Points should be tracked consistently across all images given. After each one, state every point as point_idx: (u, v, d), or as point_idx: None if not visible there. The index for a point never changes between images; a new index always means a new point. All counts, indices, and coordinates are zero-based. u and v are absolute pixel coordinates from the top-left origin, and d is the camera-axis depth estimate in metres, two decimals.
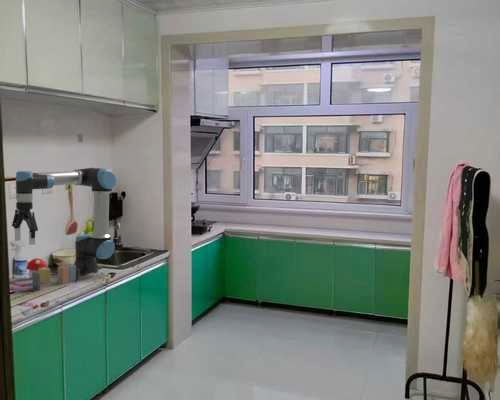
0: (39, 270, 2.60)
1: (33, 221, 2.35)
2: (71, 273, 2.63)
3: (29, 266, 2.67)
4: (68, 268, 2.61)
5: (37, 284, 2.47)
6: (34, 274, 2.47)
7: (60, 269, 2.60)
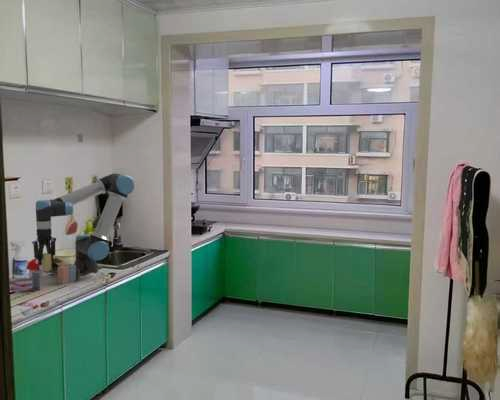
0: None
1: (35, 250, 2.55)
2: (71, 273, 2.63)
3: (29, 266, 2.67)
4: (68, 268, 2.61)
5: (37, 284, 2.47)
6: (34, 274, 2.47)
7: (60, 269, 2.60)
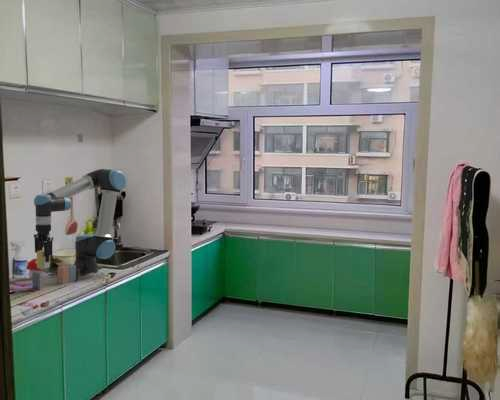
0: (43, 253, 2.48)
1: (50, 246, 2.46)
2: (71, 273, 2.63)
3: (29, 266, 2.67)
4: (68, 268, 2.61)
5: (37, 284, 2.47)
6: (34, 274, 2.47)
7: (60, 269, 2.60)
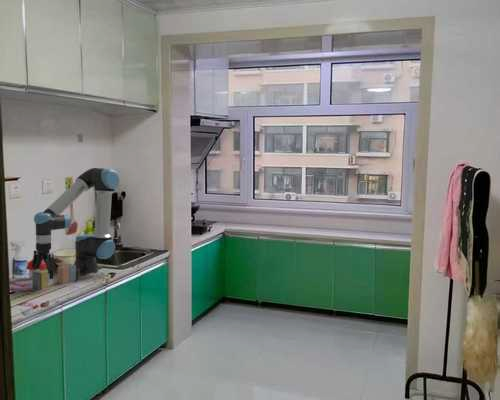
0: (43, 274, 2.49)
1: (52, 263, 2.47)
2: (71, 273, 2.63)
3: (29, 266, 2.67)
4: (68, 268, 2.61)
5: (37, 284, 2.47)
6: (34, 274, 2.47)
7: (60, 269, 2.60)
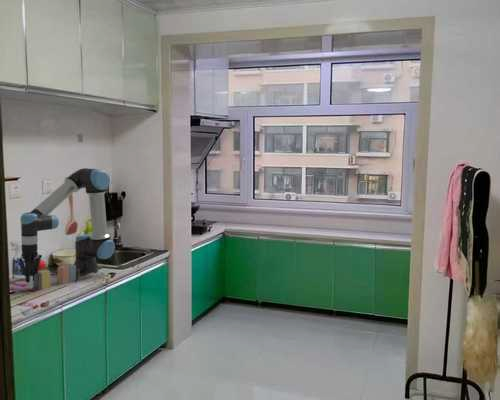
0: (43, 274, 2.49)
1: (21, 267, 2.40)
2: (71, 273, 2.63)
3: None
4: (68, 268, 2.61)
5: (38, 284, 2.47)
6: (35, 274, 2.47)
7: (60, 269, 2.60)
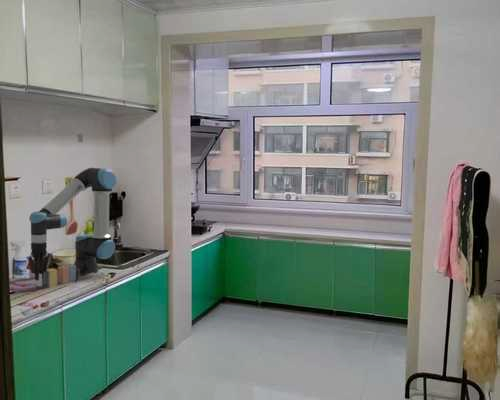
0: (50, 272, 2.52)
1: (30, 265, 2.44)
2: (71, 273, 2.63)
3: (29, 266, 2.67)
4: (68, 268, 2.61)
5: (47, 282, 2.51)
6: (44, 272, 2.52)
7: (60, 269, 2.60)
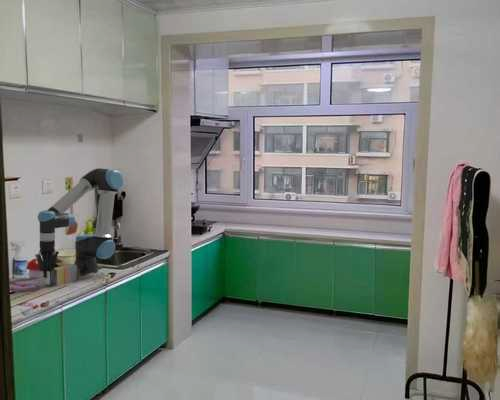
0: (58, 271, 2.56)
1: (39, 263, 2.48)
2: (72, 273, 2.64)
3: (29, 266, 2.67)
4: (70, 268, 2.62)
5: (54, 280, 2.55)
6: (52, 270, 2.56)
7: None
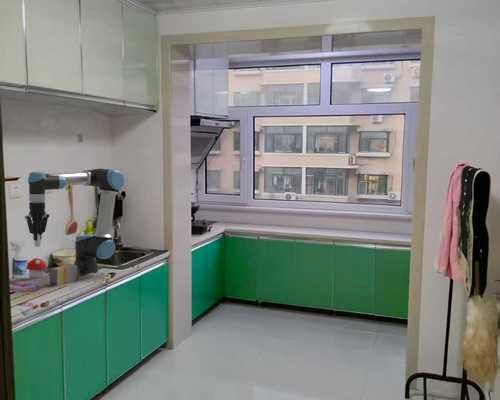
0: (58, 270, 2.57)
1: (29, 225, 2.41)
2: (72, 273, 2.64)
3: (29, 266, 2.67)
4: (70, 268, 2.62)
5: (55, 280, 2.55)
6: (52, 270, 2.56)
7: None
